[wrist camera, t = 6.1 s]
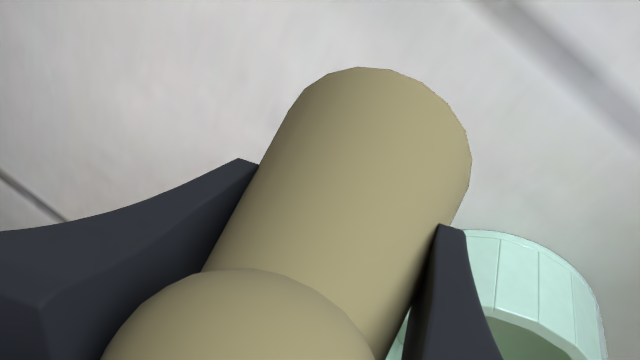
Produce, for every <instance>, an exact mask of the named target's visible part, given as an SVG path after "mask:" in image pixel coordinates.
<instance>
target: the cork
mask: <svg viewBox="0 0 640 360" xmlns="http://www.w3.org/2000/svg"><path fill="white" fill-rule="evenodd" d="M471 166H472V156H471V152H470V148H469V144H468V139H467V135H466V131H465V129H464V128H463V126H462V125H461V123H460V122H459V120H458V118H457V117H456V115H455V114H454V112H453V111H452V109H451V108H450V106H449V105H448V103H446V102H445V101H444V100H443V99H442V98H440V97H439V96H438V95H437V94H435V93H434V92H433V91H432V90H430V89H429V88H428V87H427V86H426V85H424V84H423V83H422V82H420V81H417V80H415V79H412V78H410V77H407V76H405V75H402V74H400V73H397V72H395V71H392V70H390V69H378V68H366V67H354V68H350V69H346V70H342V71H337V72H333V73H329V74H327V75H325V76H324V77H322V78H321V79H319V80H317V81H316V82H314V83H313V84H311V85H310V86H308V87H307V88H305V89H304V90H303V92H302V93H301V94H300V96H299V97H298V98H297V100H296V101H295V103H294V104H293V105H292V107H291V108H290V109H289V111H288V113H287V115H286V116H285V118H284V120H283V122H282V124H281V126H280V127H279V129H278V131H277V133H276V135H275V137H274V138H273V140H272V142H271V144H270V146H269V148H268V149H267V151H266V153H265V155H264V157H263V159H262V160H261V162H260V164H259V168H258V169H257V171H256V173H255V174H254V176H253V178H252V180H251V181H250V183H249V185H248V186H247V188H246V190H245V191H244V193H243V195H242V197H241V199H240V201H239V202H238V204H237V206H236V208H235V210H234V212H233V213H232V215H231V217H230V219H229V221H228V223H227V224H226V226H225V228H224V230H223V232H222V233H221V235H220V237H219V239H218V241H217V243H216V244H215V246H214V248H213V250H212V252H211V254H210V255H209V257H208V259H207V261H206V263H205V265H204V266H203V268H202V270H201V272H200V273H197V274H192V275H190V276H188V277H186V278H183V279H181V280H179V281H177V282H175V283H173V284H171V285H168V286H166V287H165V288H163V289H162V290H161V291H159V292H158V293H156V294H155V295H153V296H152V297H150V298H149V299H147V300H146V301H144V302H143V303H141V304H140V306H139V307H138V308H137V309H136V310H135V311H134V312H133V314H132V315H131V316H130V317H129V318H128V319H127V320H126V322H125V323H124V324H123V325H122V326H121V327H120V328H119V330H118V331H117V333H116V334H115V336H114V337H113V338H112V340H111V341H110V343H109V344H108V346H107V347H106V348H105V350H104V352H103V354H102V356H101V358H100V360H385V359H386V357H387V355H388V353H389V351H390V349H391V347H392V345H393V343H394V341H395V339H396V337H397V335H398V332H399V330H400V328H401V326H402V324H403V322H404V320H405V318H406V316H407V314H408V312H409V310H410V308H411V306H412V303H413V301H414V299H415V297H416V295H417V293H418V291H419V289H420V287H421V284H422V281H423V277H424V273H425V269H426V265H427V262H428V258H429V255H430V252H431V249H432V245H433V242H434V239H435V235H436V232H437V228H438V225H439V223H441V224H444V225H447V226H450V225H451V223H452V220H453V218H454V216H455V214H456V212H457V210H458V208H459V206H460V204H461V202H462V200H463V198H464V196H465V193H466V191H467V189H468V187H469V181H470V173H471Z"/></svg>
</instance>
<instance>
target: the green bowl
mask: <svg viewBox="0 0 640 360" xmlns="http://www.w3.org/2000/svg"><path fill="white" fill-rule="evenodd" d="M462 231H464V233H465V235H466V242H467V250H468V256H469V261H470V266H471V270H472V274H473V278H474V282H475V286H476V289H477V293H478V296H479V299H480V303H481V306H482V309H483V311H484V314H485V317H486V320H487V323H488V325H489V328H490V330H491V333H492V335H493V337H494V340H495V342H496V344H497V347H498V349H499V351H500V353H501V355H502V357H503V359H504V360H608V357H607V349H606V342H605V334H604V327H603V322H602V320H601V315H600V310H599V306H598V302H597V300H596V298H595V295H594V293H593V291H592V289H591V288H590V286H589V285H588V284H587V282H586V281H585V279H584V278H583V277H582V276H581V275H580V274H579V273H578V272H577V270H576V269H575V268H574V267H573V266H571V265H570V264H569V263H568V262H566V261H565V260H564V259H563V258H561V257H560V256H558V255H557V254H555V253H554V252H552V251H551V250H549V249H547V248H545V247H543V246H541V245H539V244H537V243H535V242H532V241H530V240H527V239H524V238H521V237H518V236H515V235H511V234H507V233H502V232H496V231H490V230H474V229H471V230H462ZM409 312H410V310H409ZM409 312H408V314H407V316H406V318H405V320H404V322H403V324H402V326H401V328H400V330H399V332H398V335H397V337H396V339H395V341H394V343H393V345H392V347H391V349H390V351H389V353H388V355H387V357H386V359H385V360H401V357H402V351H403V345H404V339H405V333H406V327H407V322H408V316H409Z"/></svg>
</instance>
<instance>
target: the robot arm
mask: <svg viewBox="0 0 640 360" xmlns="http://www.w3.org/2000/svg"><path fill="white" fill-rule="evenodd" d="M258 168H259V165H258V164H255V163H252V162H249V161H246V160H243V159H240V158H237V159H235V160H233V161H231V162H229V163H227V164H225V165H222V166H220V167H218V168H216V169H214V170H212V171H210V172H208V173H206V174H204V175H202V176H200V177H198V178H196V179H193V180H191V181H189V182H187V183H185V184H183V185H181V186H178V187H176V188H174V189H171V190H169V191H166V192H164V193H161V194H159V195H157V196H154V197H152V198H149V199H147V200H144V201H141V202H139V203H136V204H133V205H130V206H127V207H123V208H120V209H117V210H114V211H111V212H107V213H103V214H99V215H95V216H91V217H87V218H82V219H78V220H74V221H70V222H65V223H59V224H53V225H48V226H41V227H35V228H28V229H20V230H10V231H0V360H100V358H101V356H102V354H103V352H104V350H105V348H106V347H107V346H108V344H109V343H110V341H111V340H112V338H113V337H114V336H115V334H116V333H117V331H118V330H119V328H120V327H121V326H122V325H123V324H124V323H125V322H126V320H127V319H128V318H129V317H130V316H131V315H132V314H133V312H134V311H135V310H136V309H137V308H138V307H139V306H140V304H141V303H143V302H144V301H146V300H147V299H149V298H150V297H152V296H153V295H155V294H156V293H158V292H159V291H161V290H162V289H163V288H165V287H166V286H168V285H171V284H173V283H175V282H177V281H179V280H181V279H183V278H186V277H188V276H190V275H192V274H197V273H200V272H201V270H202V268H203V266H204V265H205V263H206V261H207V259H208V257H209V255H210V254H211V252H212V250H213V248H214V246H215V244H216V243H217V241H218V239H219V237H220V235H221V233H222V232H223V230H224V228H225V226H226V224H227V223H228V221H229V219H230V217H231V215H232V213H233V212H234V210H235V208H236V206H237V204H238V202H239V201H240V199H241V197H242V195H243V193H244V191H245V190H246V188H247V186H248V185H249V183H250V181H251V180H252V178H253V176H254V174H255V173H256V171H257V169H258ZM401 360H504V359H503V357H502V355H501V353H500V351H499V349H498V347H497V344H496V342H495V340H494V337H493V335H492V333H491V330H490V328H489V325H488V323H487V320H486V317H485V314H484V311H483V309H482V306H481V303H480V299H479V296H478V293H477V289H476V286H475V282H474V278H473V274H472V270H471V266H470V261H469V256H468V250H467V242H466V235H465V233H464V231H462V230H459V229H456V228H453V227H450V226H447V225H444V224H441V223H439V225H438V228H437V232H436V235H435V239H434V242H433V245H432V249H431V252H430V255H429V258H428V262H427V265H426V269H425V273H424V277H423V281H422V284H421V287H420V289H419V291H418V293H417V295H416V297H415V299H414V301H413V303H412V306H411V308H410V312H409V316H408V322H407V327H406V333H405V339H404V345H403V351H402V357H401Z"/></svg>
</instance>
